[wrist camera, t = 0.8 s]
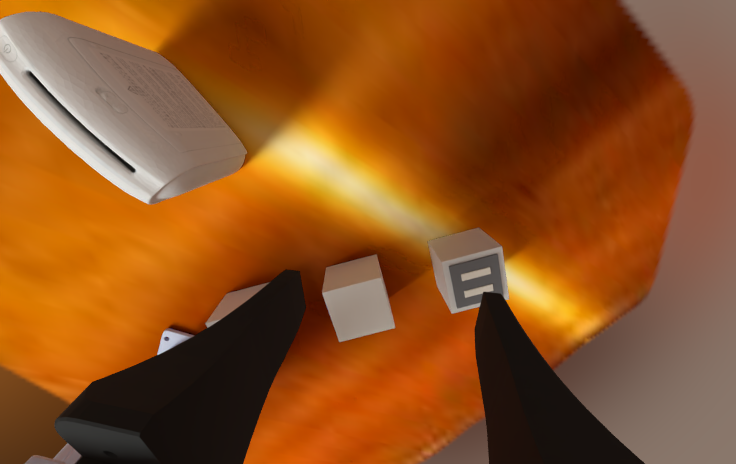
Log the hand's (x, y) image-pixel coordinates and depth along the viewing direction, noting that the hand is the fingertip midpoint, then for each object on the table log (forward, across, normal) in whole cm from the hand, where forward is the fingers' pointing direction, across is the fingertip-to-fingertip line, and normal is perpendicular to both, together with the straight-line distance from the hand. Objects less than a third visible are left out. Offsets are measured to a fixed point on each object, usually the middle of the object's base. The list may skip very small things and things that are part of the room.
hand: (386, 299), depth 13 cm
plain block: (+14, +5, +12) cm, 19 cm away
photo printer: (+15, +18, -3) cm, 23 cm away
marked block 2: (+17, -5, +10) cm, 20 cm away
